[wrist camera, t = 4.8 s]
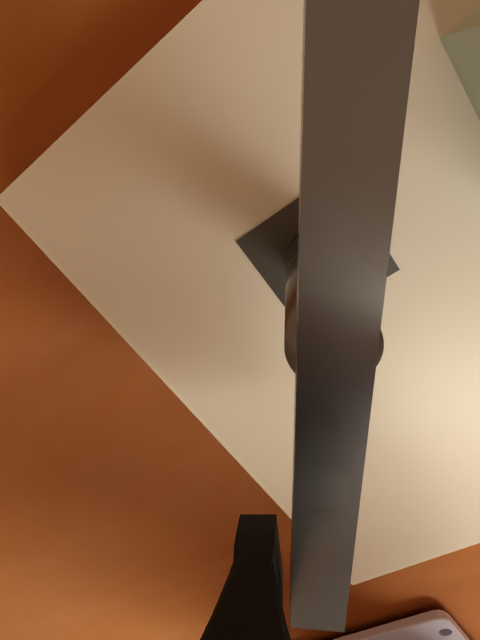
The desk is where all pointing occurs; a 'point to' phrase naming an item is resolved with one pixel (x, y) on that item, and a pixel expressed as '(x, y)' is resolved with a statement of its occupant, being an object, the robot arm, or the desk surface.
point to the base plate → (278, 258)
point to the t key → (340, 278)
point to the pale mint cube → (466, 56)
